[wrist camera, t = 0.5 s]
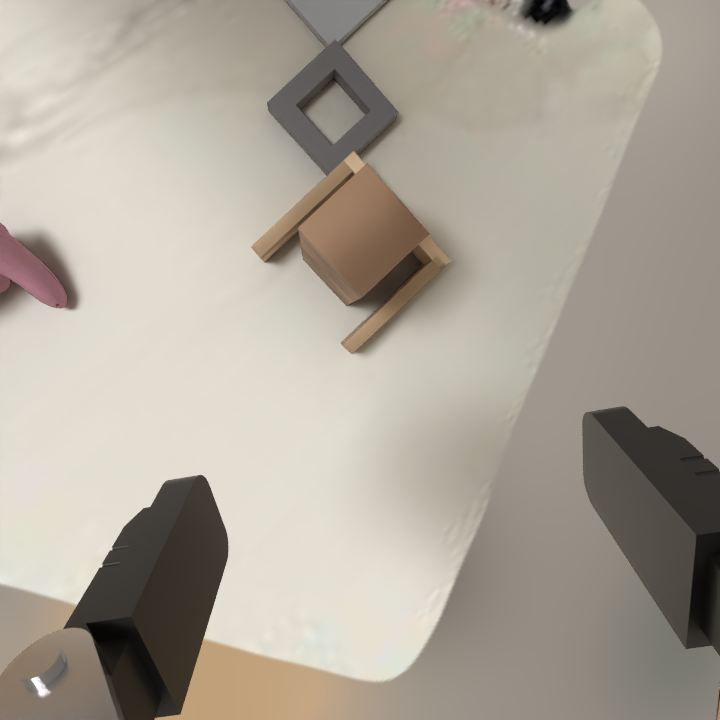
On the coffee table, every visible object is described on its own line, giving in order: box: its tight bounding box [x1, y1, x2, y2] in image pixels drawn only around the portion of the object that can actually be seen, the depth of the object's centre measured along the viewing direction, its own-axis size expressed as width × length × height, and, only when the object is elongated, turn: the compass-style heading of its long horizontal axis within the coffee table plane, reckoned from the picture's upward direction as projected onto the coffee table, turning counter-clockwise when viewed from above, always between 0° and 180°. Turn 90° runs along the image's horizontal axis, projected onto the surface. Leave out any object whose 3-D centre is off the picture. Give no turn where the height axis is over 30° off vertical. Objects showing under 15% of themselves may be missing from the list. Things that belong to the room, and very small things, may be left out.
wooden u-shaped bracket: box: [251, 151, 451, 354], centre depth 32 cm, size 9×8×2 cm
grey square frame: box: [267, 39, 398, 175], centre depth 31 cm, size 6×6×1 cm
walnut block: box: [298, 163, 429, 306], centre depth 27 cm, size 4×4×11 cm
